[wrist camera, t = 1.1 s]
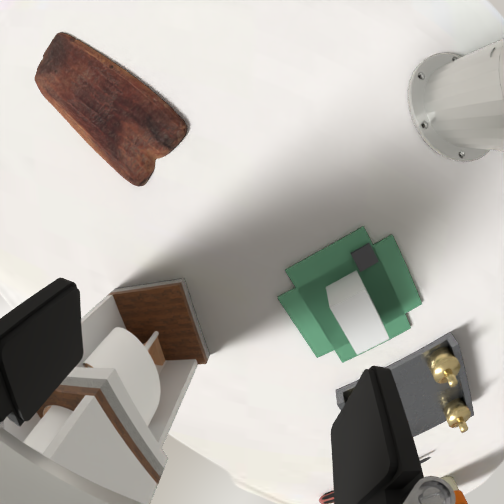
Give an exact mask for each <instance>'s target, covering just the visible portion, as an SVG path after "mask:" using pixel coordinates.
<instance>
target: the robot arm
mask: <svg viewBox="0 0 504 504" xmlns="http://www.w3.org/2000/svg"><path fill="white" fill-rule="evenodd" d="M418 76H420V79H419V78H418ZM408 103H409V110H410V113H411V117H412V120H413V122H414V124H415V126H416V128H417V131H418V132H419V134H420V135H421V137H422V138H423V140H424V141H425V142H426V143H427V144H428V145H429V146H430V147H431V148H432V149H433V150H435V151H436V152H437V153H438V154H440V155H442V156H444V157H446V158H448V159H452V160H455V161H462V162H465V161H473V160H476V159H479V158H481V157H483V156H484V155H486V154H487V153H488V152H489V151H490V150H495V151H504V39H502V40H499V41H497V42H495V43H492V44H490V45H488V46H485V47H483V48H481V49H479V50H476V51H474V52H472V53H470V54H467V55H465V56H463V57H461V56H459V55H456V54H450V53H439V54H436V55H433V56H430V57H428V58H427V59H425V60H424V61H423V62H421V63H420V64H419V65H418V66H417V68H416V69H415V70H414V72H413V74H412V77H411V79H410V83H409V88H408ZM421 123H422V124H423V125H424V127H423V128H422V126H421ZM459 153H460V155H459ZM83 353H84V350H83V339H82V327H81V310H80V291H79V289H77V286H76V284H75V283H74V282H71V281H69V280H66V279H64V278H58V279H57V280H55V281H54V282H52V283H51V284H49V285H48V286H46V287H45V288H43V289H42V290H40V291H39V292H37V293H36V294H34V295H33V296H31V297H30V298H29V299H27V300H26V301H24V302H23V303H21V304H20V305H19V306H17V307H16V308H14V309H13V310H12V311H10V312H9V313H8V314H6V315H5V316H3V317H2V318H1V319H0V504H144V503H141V502H138V501H136V500H133V499H131V498H128V497H126V496H123V495H121V494H118V493H116V492H114V491H111V490H109V489H107V488H105V487H102V486H100V485H98V484H96V483H94V482H92V481H90V480H88V479H86V478H84V477H82V476H80V475H78V474H76V473H74V472H72V471H70V470H68V469H66V468H65V467H63V466H61V465H59V464H57V463H56V462H54V461H52V460H50V459H49V458H47V457H45V456H44V455H42V454H40V453H39V452H37V451H36V450H34V449H32V448H31V447H29V446H28V445H26V444H25V443H23V442H22V441H20V440H19V439H17V438H16V437H14V436H13V435H12V434H10V433H9V432H7V431H6V430H5V429H4V420H5V418H6V417H8V419H10V420H11V421H12V422H14V423H15V424H17V425H18V426H21V425H22V424H23V423H24V421H29V420H30V419H31V418H32V417H33V416H34V415H35V413H36V412H37V411H38V410H39V409H40V407H41V406H42V405H43V404H44V403H45V401H46V400H47V399H48V398H49V397H50V396H51V394H52V393H53V392H54V391H55V390H56V389H57V387H58V386H59V385H60V384H61V383H62V382H63V380H64V379H65V378H66V377H67V376H68V375H69V374H70V372H71V371H72V370H73V369H74V368H75V367H76V366H77V365H78V363H79V362H80V361H81V360H82V357H83ZM331 444H332V461H333V482H334V504H455V502H456V499H455V493H454V491H453V489H452V487H451V486H450V484H449V483H447V482H446V481H445V480H443V479H441V478H439V477H434V476H428V477H424V476H423V472H422V468H421V464H420V461H419V457H418V454H417V450H416V447H415V443H414V440H413V436H412V433H411V430H410V426H409V423H408V420H407V417H406V414H405V410H404V407H403V404H402V401H401V398H400V395H399V392H398V389H397V386H396V383H395V381H394V378H393V375H392V372H391V370H390V369H389V368H384V367H378V366H372V367H371V368H370V369H365V370H364V372H363V373H362V375H361V377H360V379H359V381H358V382H357V384H356V386H355V388H354V390H353V391H352V393H351V395H350V397H349V398H348V400H347V402H346V404H345V405H344V407H343V409H342V410H341V412H340V414H339V415H338V417H337V419H336V420H335V422H334V423H333V426H332V429H331Z"/></svg>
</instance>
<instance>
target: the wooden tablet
mask: <svg viewBox="0 0 504 504" xmlns="http://www.w3.org/2000/svg"><path fill="white" fill-rule="evenodd" d="M35 82H36V84H37V86H38V88H39V90H40V91H41V93H42V94H43V96H44V97H45V98H46V99H47V100H48V101H49V102H50V103H51V104H52V105H53V106H54V107H55V108H56V109H57V111H58V112H59V113H60V114H61V115H62V116H63V117H64V118H65V119H66V120H67V121H68V122H69V124H70V125H71V126H72V127H73V128H74V129H75V130H76V131H77V132H78V134H80V136H81V137H82V138H83V139H84V140H85V141H86V142H87V143H88V144H89V145H90V146H91V147H92V148H93V149H94V150H95V151H96V152H97V153H98V154H99V155H100V156H101V157H102V158H103V159H104V160H106V162H107V163H108V164H109V165H110V166H111V167H113V168H114V169H115V170H116V171H117V172H118V173H119V174H120V175H121V176H122V177H123V178H125V179H126V180H127V181H129V182H130V183H132V184H133V185H135V186H143V185H145V184H146V182H147V181H148V179H149V177H150V176H151V174H152V172H153V171H154V168H155V160H156V159H157V158H161V157H164V156H166V155H167V154H169V153H170V152H171V151H172V150H173V149H174V148H175V147H176V146H177V145H178V144H179V143H180V142H181V141H182V139H183V138H184V136H185V135H186V132H187V126H186V124H185V121H184V120H183V119H182V118H181V117H179V115H178V114H177V113H176V112H175V111H174V110H173V109H172V108H171V107H170V106H169V105H168V104H167V103H166V102H165V101H163V100H162V99H161V98H160V97H159V96H158V95H156V93H154V92H153V91H152V90H151V89H149V88H148V87H147V86H146V85H144V84H143V83H142V82H140V81H139V80H138V79H136V78H135V77H134V76H132V75H131V74H130V73H128V72H127V71H126V70H124V69H123V68H121V67H120V66H118V65H117V64H115V63H114V62H112V61H111V60H109V59H108V58H106V57H105V56H103V55H102V54H100V53H99V52H97V51H96V50H94V49H92V48H91V47H89V46H87V45H86V44H84V43H83V42H81V41H79V40H76V39H75V38H74V37H72V36H70V35H68V34H65V33H58V34H57V35H56V36H55V37H54V39H53V40H52V42H51V44H50V45H49V47H48V48H47V50H46V51H45V53H44V55H43V60H41V62H40V64H39V66H38V68H37V72H36V75H35Z"/></svg>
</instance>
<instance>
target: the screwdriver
mask: <svg viewBox="0 0 504 504" xmlns="http://www.w3.org/2000/svg"><path fill="white" fill-rule="evenodd" d="M430 458H431V457H428V458H425V459H423V460H421V461H420V464H421V463H423V462H425V461H427V460H428V459H430ZM319 502H320V503H321V504H330V503H334V491H333V492H330V493H328V494H326V495H323V496H321V497H320V499H319Z"/></svg>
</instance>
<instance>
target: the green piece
mask: <svg viewBox="0 0 504 504" xmlns="http://www.w3.org/2000/svg"><path fill="white" fill-rule="evenodd" d="M285 271H286V273H287V275H288V276H289V278H290V279H291V281H292V283H293V284H294V286H295V288H294V289H292V290H290V291H288V292H286V293H284V294H282V295H280V296H278V300H279V301H280V303H281V304H282V306H283V307H284V309H285V310H286V312H287V313H288V315H289V316H290V318H291V319H292V321H293V322H294V324H295V325H296V327H297V328H298V330H299V331H300V333H301V334H302V336H303V337H304V339H305V340H306V342H307V343H308V345H309V346H310V348H311V349H312V351H313V352H314V354H315V355H316V357H317V358H318V357H320V356H322V355H325V354H327V353H329V352H331V351H333V350H335V351H336V353H337V355H338V356H339V358H340V360H341V361H342V363H343V362H345V361H347V360H349V359H352V358H354V357H356V356H358V355H360V354H362V353H364V352H366V351H368V350H370V349H372V348H374V347H376V346H378V345H380V344H382V343H384V342H386V341H388V340H390V339H392V338H394V337H395V336H397V335H399V334H401V333H403V332H405V331H406V330H408V329H410V328H411V327H410V324H409V322H408V320H407V317H406V315H405V313H407V312H409V311H411V310H412V309H414V308H416V307H418V306H419V305H421V304H422V302H421V300H420V297H419V295H418V292H417V290H416V287H415V285H414V282H413V280H412V278H411V275H410V273H409V271H408V268H407V266H406V264H405V261H404V259H403V257H402V255H401V252H400V250H399V248H398V246H397V244H396V241H395V239H394V237H393V235H392V234H391V235H390V236H388V237H386V238H384V239H383V240H381V241H379V242H378V243H376V244H374V245H373V244H372V242H371V240H370V238H369V236H368V234H367V232H366V230H365V228H364V227H361V228H359V229H357V230H356V231H354V232H352V233H350V234H349V235H347V236H345V237H343V238H342V239H340V240H338V241H336V242H334V243H333V244H331V245H329V246H327V247H325V248H324V249H322V250H320V251H318V252H316V253H315V254H313V255H311V256H309V257H307V258H306V259H304V260H302V261H300V262H298V263H297V264H295V265H293V266H291V267H289V268H287V269H286V270H285Z"/></svg>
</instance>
